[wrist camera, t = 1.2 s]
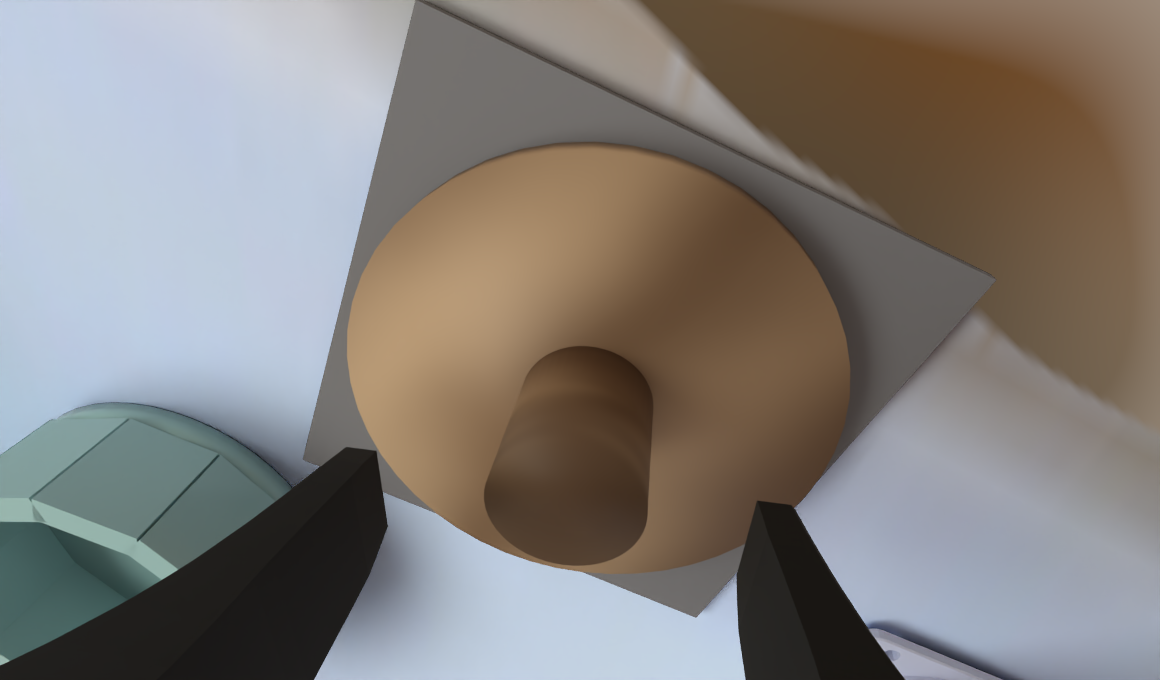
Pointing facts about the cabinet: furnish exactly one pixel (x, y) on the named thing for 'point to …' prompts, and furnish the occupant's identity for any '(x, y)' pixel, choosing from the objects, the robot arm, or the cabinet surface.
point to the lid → (598, 358)
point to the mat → (595, 114)
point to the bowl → (113, 512)
